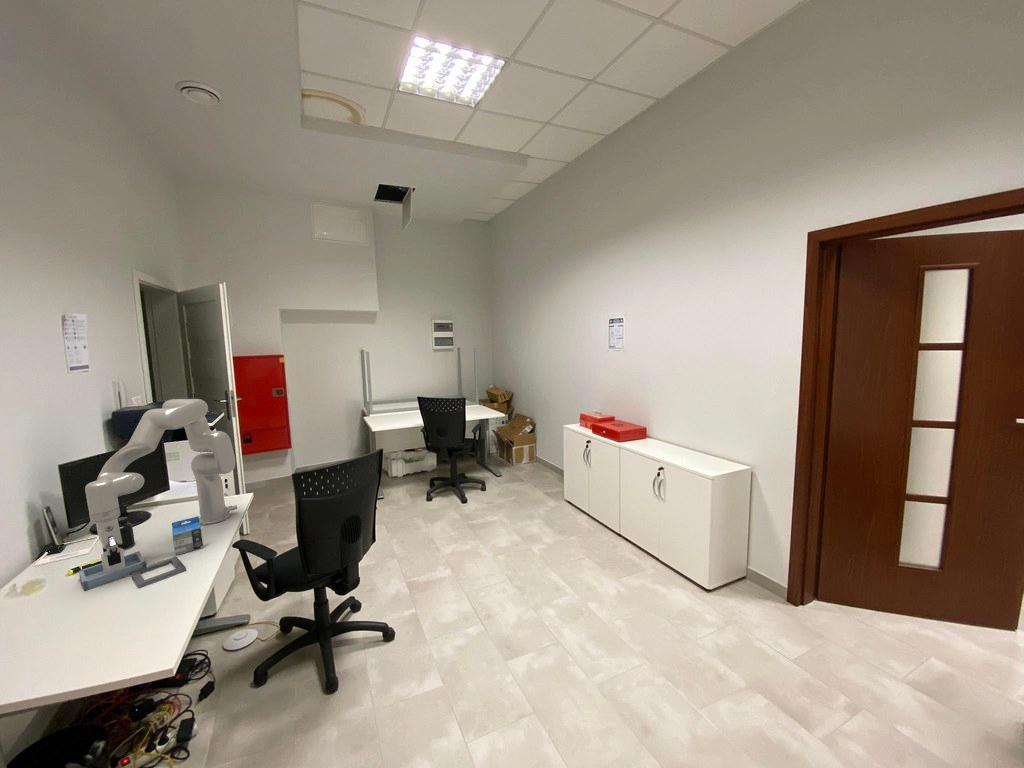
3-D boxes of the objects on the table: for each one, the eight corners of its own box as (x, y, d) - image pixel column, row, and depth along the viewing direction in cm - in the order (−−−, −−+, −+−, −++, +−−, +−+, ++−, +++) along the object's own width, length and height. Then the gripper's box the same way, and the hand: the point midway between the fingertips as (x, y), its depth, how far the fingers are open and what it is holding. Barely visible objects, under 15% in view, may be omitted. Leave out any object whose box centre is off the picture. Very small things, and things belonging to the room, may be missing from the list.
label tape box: (175, 556, 158) (171, 526, 157) (175, 552, 161) (171, 522, 160) (203, 548, 164) (199, 518, 162) (202, 544, 167) (199, 515, 166)
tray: (139, 558, 157) (138, 551, 157) (146, 569, 150) (145, 561, 149) (79, 578, 145) (78, 570, 144) (84, 591, 137) (83, 582, 137)
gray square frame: (176, 559, 156) (176, 556, 156) (186, 570, 148) (185, 567, 148) (130, 575, 146) (130, 572, 146) (138, 588, 138) (138, 585, 138)
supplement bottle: (139, 543, 170) (135, 515, 168) (122, 551, 163) (118, 523, 162) (125, 542, 170) (120, 515, 169) (107, 551, 164) (102, 522, 162)
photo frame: (33, 565, 154) (50, 545, 168) (34, 567, 154) (51, 548, 168) (88, 552, 162) (100, 535, 176) (88, 555, 162) (100, 537, 177)
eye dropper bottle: (123, 572, 147) (118, 540, 145) (102, 576, 144) (97, 544, 143) (127, 566, 151) (122, 535, 149) (106, 570, 148) (102, 539, 147)
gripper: (124, 516, 142) (131, 562, 144) (115, 505, 153) (122, 547, 155) (93, 525, 136) (102, 572, 139) (86, 512, 147) (94, 556, 149)
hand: (112, 559), depth 147 cm, fingers open, 9 cm apart
